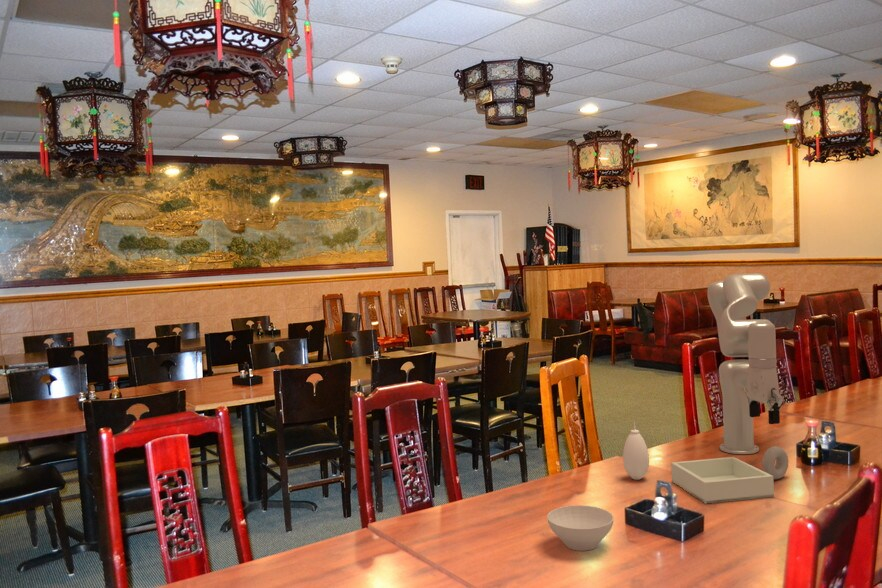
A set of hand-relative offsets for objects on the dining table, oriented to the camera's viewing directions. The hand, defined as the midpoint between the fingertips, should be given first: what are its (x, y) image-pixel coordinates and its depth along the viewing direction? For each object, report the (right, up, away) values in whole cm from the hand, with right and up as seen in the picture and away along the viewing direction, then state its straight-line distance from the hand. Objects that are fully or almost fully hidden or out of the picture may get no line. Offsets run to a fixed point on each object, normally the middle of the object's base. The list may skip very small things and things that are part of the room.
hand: (764, 420), depth 211 cm
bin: (-15, -19, -5) cm, 25 cm away
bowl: (-63, -24, -39) cm, 78 cm away
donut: (+4, -18, +1) cm, 19 cm away
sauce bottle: (-36, -20, +8) cm, 42 cm away
